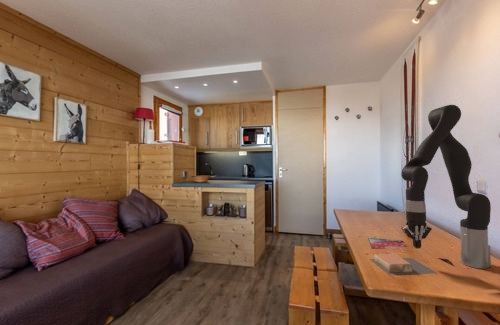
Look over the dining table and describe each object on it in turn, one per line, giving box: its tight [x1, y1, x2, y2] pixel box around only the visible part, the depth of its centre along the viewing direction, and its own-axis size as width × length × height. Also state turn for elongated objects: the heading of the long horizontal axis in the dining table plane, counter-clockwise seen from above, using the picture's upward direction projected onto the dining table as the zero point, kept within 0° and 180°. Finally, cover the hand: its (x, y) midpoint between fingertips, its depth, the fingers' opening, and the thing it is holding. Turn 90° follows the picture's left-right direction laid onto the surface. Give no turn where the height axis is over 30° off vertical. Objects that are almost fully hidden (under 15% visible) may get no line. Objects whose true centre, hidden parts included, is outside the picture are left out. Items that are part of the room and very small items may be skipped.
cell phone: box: [437, 258, 454, 267], centre depth 113 cm, size 8×15×1 cm, turn 66°
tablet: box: [367, 237, 409, 250], centre depth 134 cm, size 19×25×1 cm
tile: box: [373, 253, 412, 272], centre depth 107 cm, size 3×12×10 cm
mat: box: [369, 257, 438, 276], centre depth 107 cm, size 21×16×1 cm
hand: (417, 247), depth 107 cm, fingers closed
